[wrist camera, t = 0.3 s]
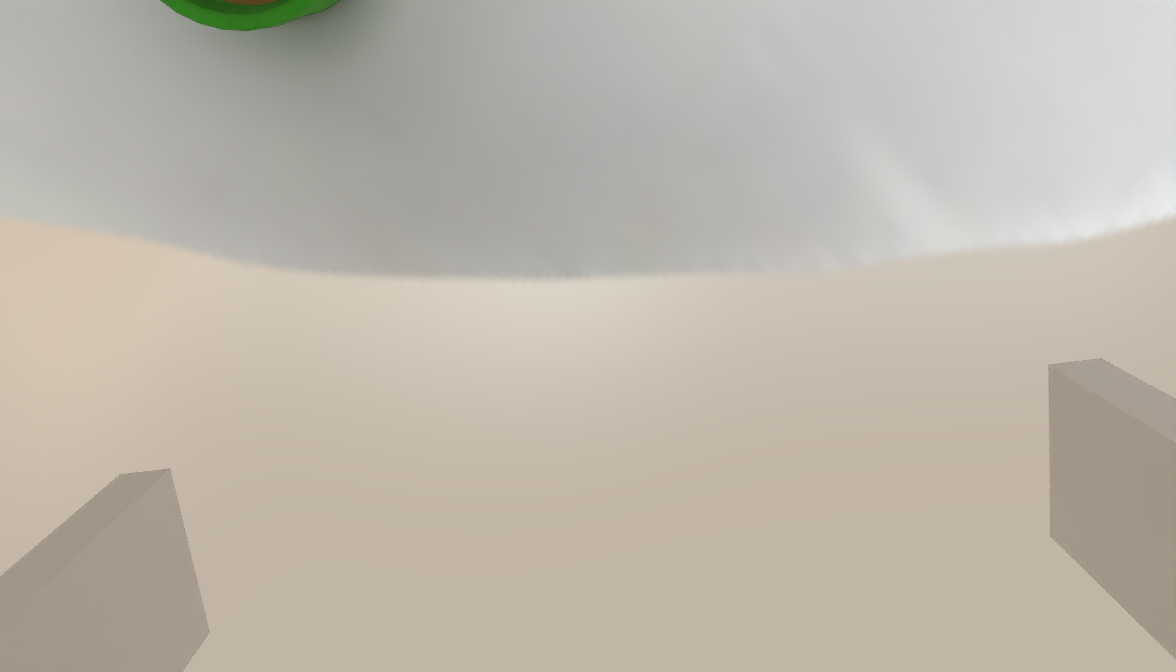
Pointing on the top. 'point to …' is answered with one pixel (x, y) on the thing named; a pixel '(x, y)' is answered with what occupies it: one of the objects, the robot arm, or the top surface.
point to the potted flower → (246, 12)
